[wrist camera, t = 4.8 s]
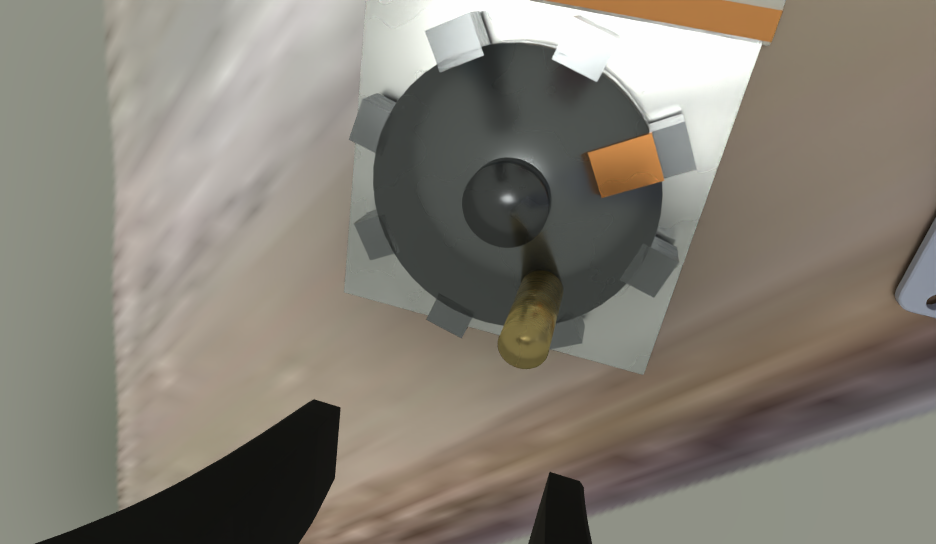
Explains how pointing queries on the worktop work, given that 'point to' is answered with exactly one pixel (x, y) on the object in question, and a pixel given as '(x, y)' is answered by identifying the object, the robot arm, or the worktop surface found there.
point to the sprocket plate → (640, 72)
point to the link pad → (693, 14)
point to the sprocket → (520, 184)
